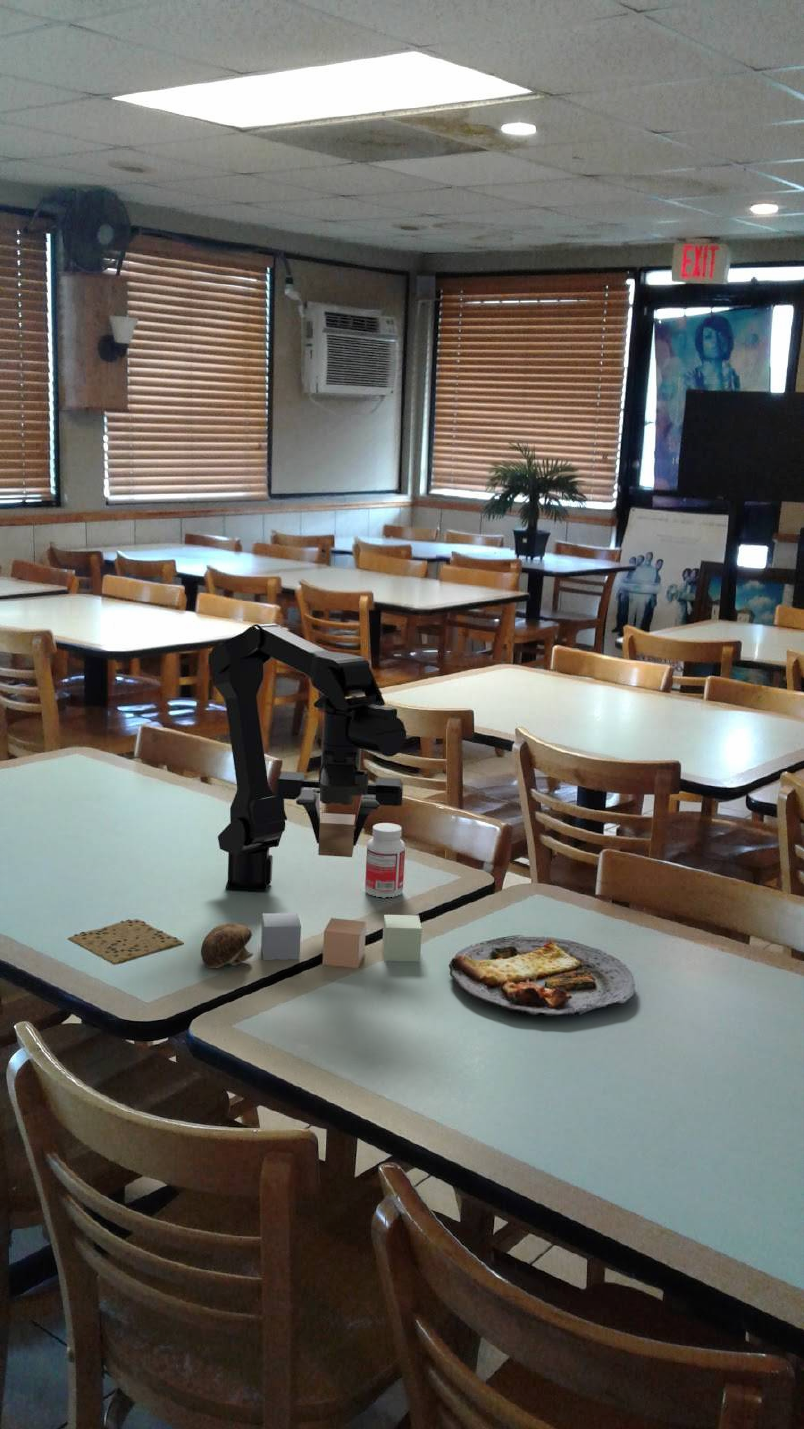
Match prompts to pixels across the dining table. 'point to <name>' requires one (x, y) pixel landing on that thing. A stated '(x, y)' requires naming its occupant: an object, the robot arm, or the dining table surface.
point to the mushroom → (226, 945)
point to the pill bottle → (385, 861)
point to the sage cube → (401, 938)
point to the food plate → (541, 975)
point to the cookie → (125, 941)
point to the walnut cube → (336, 835)
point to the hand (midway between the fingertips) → (336, 843)
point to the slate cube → (280, 936)
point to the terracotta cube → (344, 942)
